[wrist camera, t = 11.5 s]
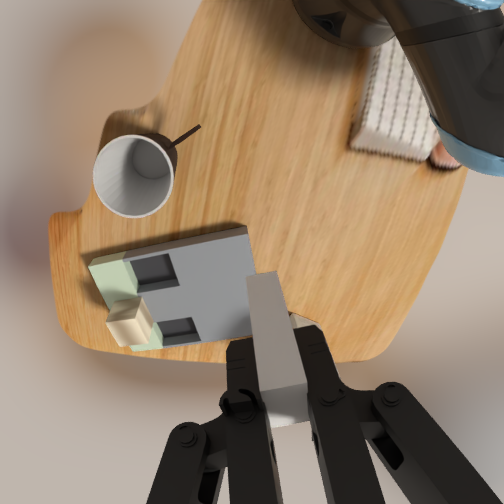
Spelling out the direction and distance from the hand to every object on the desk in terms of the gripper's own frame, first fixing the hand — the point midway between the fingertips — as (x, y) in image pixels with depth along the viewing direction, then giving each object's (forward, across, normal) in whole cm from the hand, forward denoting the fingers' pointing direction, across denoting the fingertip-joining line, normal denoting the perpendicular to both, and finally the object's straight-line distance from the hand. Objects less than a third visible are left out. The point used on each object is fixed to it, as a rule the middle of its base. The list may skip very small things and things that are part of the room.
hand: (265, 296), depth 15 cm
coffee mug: (+27, -9, +4) cm, 28 cm away
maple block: (+24, -20, -17) cm, 36 cm away
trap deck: (+26, -12, -17) cm, 34 cm away
